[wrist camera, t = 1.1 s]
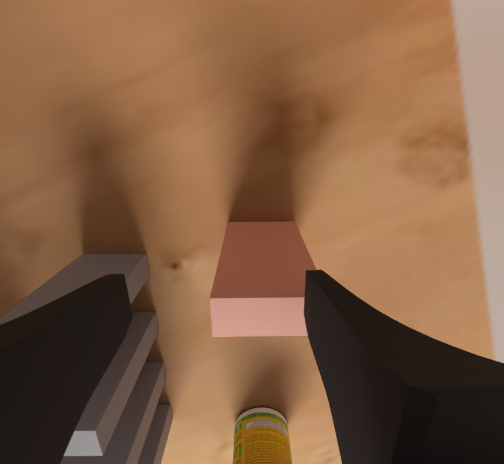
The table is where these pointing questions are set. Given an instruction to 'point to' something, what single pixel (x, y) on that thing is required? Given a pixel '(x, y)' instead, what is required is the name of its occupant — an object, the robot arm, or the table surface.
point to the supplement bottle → (261, 438)
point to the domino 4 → (157, 435)
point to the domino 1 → (85, 279)
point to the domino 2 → (114, 388)
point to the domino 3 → (131, 420)
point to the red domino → (260, 281)
